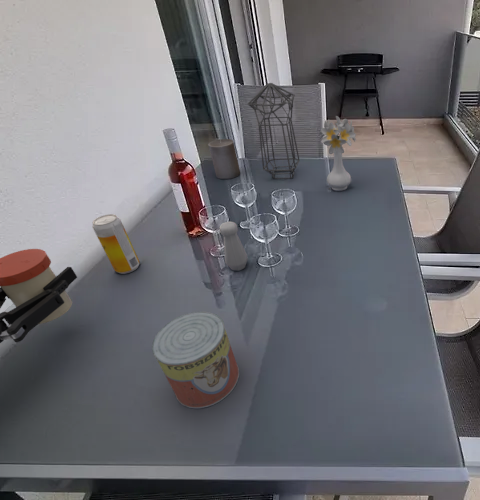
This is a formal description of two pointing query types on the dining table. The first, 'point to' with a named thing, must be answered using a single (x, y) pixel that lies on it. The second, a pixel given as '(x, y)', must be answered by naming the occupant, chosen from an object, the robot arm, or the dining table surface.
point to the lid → (22, 266)
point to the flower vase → (338, 151)
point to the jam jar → (33, 288)
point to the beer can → (116, 243)
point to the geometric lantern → (251, 104)
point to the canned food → (197, 359)
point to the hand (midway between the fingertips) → (52, 272)
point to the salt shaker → (233, 247)
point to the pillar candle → (224, 158)
